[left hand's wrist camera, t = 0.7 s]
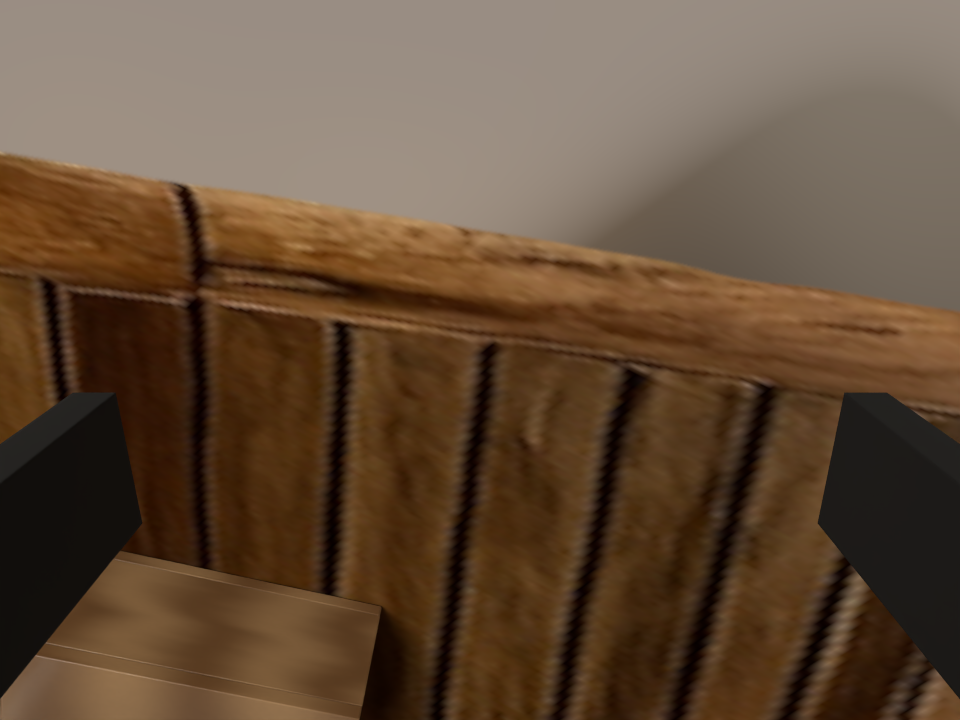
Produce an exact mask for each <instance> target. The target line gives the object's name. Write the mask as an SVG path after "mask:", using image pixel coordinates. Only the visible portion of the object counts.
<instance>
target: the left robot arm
mask: <svg viewBox="0 0 960 720" xmlns="http://www.w3.org/2000/svg"><path fill="white" fill-rule="evenodd" d="M141 524H142V520H141V515H140V510H139V505H138V500H137V495H136V490H135V485H134V480H133V476H132V471H131V466H130V461H129V456H128V451H127V446H126V441H125V437H124V432H123V427H122V422H121V417H120V412H119V407H118V402H117V398H116V393H72V394H71V395H69V396H68V397H66V398H65V399H63V400H62V401H61V402H59V403H58V404H56V405H55V406H54V407H52V408H51V409H49V410H48V411H47V412H45V413H44V414H42V415H41V416H39V417H38V418H37V419H35V420H34V421H32V422H31V423H30V424H28V425H27V426H25V427H24V428H22V429H21V430H20V431H18V432H17V433H15V434H14V435H13V436H11V437H10V438H8V439H7V440H5V441H4V442H3V443H1V444H0V699H1V697H2V696H3V695H4V694H5V693H6V691H7V690H8V689H9V688H10V686H11V685H12V684H13V683H14V681H15V680H16V679H17V678H18V676H19V675H20V674H21V673H22V671H23V670H24V669H25V668H26V667H27V665H28V664H29V663H30V662H31V660H32V659H33V658H34V657H35V655H36V654H37V653H38V652H39V650H40V649H41V648H42V647H43V645H44V644H45V643H46V642H47V641H48V639H49V638H50V637H51V636H52V634H53V633H54V632H55V631H56V629H57V628H58V627H59V626H60V624H61V623H62V622H63V621H64V619H65V618H66V617H67V616H68V615H69V613H70V612H71V611H72V610H73V608H74V607H75V606H76V605H77V603H78V602H79V601H80V600H81V598H82V597H83V596H84V595H85V593H86V592H87V591H88V590H89V589H90V587H91V586H92V585H93V584H94V582H95V581H96V580H97V579H98V577H99V576H100V575H101V574H102V572H103V571H104V570H105V569H106V567H107V566H108V565H109V564H110V563H111V561H112V560H113V559H114V558H115V556H116V555H117V554H118V553H119V551H120V550H121V549H122V548H123V546H124V545H125V544H126V543H127V541H128V540H129V539H130V538H131V537H132V535H133V534H134V533H135V532H136V530H137V529H138V528H139V527H140V525H141ZM818 524H819V525H820V527H821V528H822V529H823V530H824V532H825V533H826V534H827V535H828V537H829V538H830V539H831V540H832V541H833V543H834V544H835V545H836V546H837V548H838V549H839V550H840V551H841V553H842V554H843V555H844V556H845V558H846V559H847V560H848V561H849V563H850V564H851V565H852V566H853V567H854V569H855V570H856V571H857V572H858V574H859V575H860V576H861V577H862V579H863V580H864V581H865V582H866V584H867V585H868V586H869V587H870V589H871V590H872V591H873V592H874V593H875V595H876V596H877V597H878V598H879V600H880V601H881V602H882V603H883V605H884V606H885V607H886V608H887V610H888V611H889V612H890V613H891V615H892V616H893V617H894V618H895V619H896V621H897V622H898V623H899V624H900V626H901V627H902V628H903V629H904V631H905V632H906V633H907V634H908V636H909V637H910V638H911V639H912V641H913V642H914V643H915V644H916V645H917V647H918V648H919V649H920V650H921V652H922V653H923V654H924V655H925V657H926V658H927V659H928V660H929V662H930V663H931V664H932V665H933V667H934V668H935V669H936V670H937V671H938V673H939V674H940V675H941V676H942V678H943V679H944V680H945V681H946V683H947V684H948V685H949V686H950V688H951V689H952V690H953V691H954V693H955V694H956V695H957V696H958V697H959V699H960V444H959V443H957V442H956V441H955V440H953V439H952V438H950V437H949V436H947V435H946V434H945V433H943V432H942V431H940V430H939V429H938V428H936V427H935V426H933V425H932V424H930V423H929V422H928V421H926V420H925V419H923V418H922V417H921V416H919V415H918V414H916V413H915V412H913V411H912V410H911V409H909V408H908V407H906V406H905V405H904V404H902V403H901V402H899V401H898V400H897V399H895V398H894V397H892V396H891V395H889V394H888V393H844V397H843V402H842V407H841V412H840V417H839V422H838V427H837V432H836V437H835V441H834V446H833V451H832V456H831V461H830V466H829V471H828V476H827V480H826V485H825V490H824V495H823V500H822V505H821V510H820V515H819V519H818Z"/></svg>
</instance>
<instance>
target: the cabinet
mask: <svg viewBox="0 0 960 720" xmlns="http://www.w3.org/2000/svg"><path fill="white" fill-rule="evenodd" d="M381 609H382V607H381V606H377V605H372V604H367V603H363V602H358V601H353V600H349V599H344V598H339V597H335V596H330V595H325V594H321V593H316V592H311V591H306V590H302V589H297V588H292V587H288V586H283V585H278V584H274V583H269V582H264V581H260V580H255V579H250V578H246V577H241V576H236V575H232V574H227V573H222V572H217V571H213V570H208V569H203V568H199V567H194V566H189V565H185V564H180V563H175V562H171V561H166V560H161V559H157V558H152V557H147V556H143V555H138V554H133V553H129V552H124V551H119V553H118V554H117V555H116V556H115V558H114V559H113V560H112V561H111V563H110V564H109V565H108V566H107V567H106V569H105V570H104V571H103V572H102V574H101V575H100V576H99V577H98V579H97V580H96V581H95V582H94V584H93V585H92V586H91V587H90V589H89V590H88V591H87V592H86V593H85V595H84V596H83V597H82V598H81V600H80V601H79V602H78V603H77V605H76V606H75V607H74V608H73V610H72V611H71V612H70V613H69V615H68V616H67V617H66V618H65V619H64V621H63V622H62V623H61V624H60V626H59V627H58V628H57V629H56V631H55V632H54V633H53V634H52V636H51V637H50V638H49V639H48V641H47V642H46V643H45V644H44V645H43V647H42V648H41V649H40V650H39V652H38V653H37V654H36V655H35V657H34V658H33V659H32V660H31V662H30V663H29V664H28V665H27V667H26V668H25V669H24V670H23V671H22V673H21V674H20V675H19V676H18V678H17V679H16V680H15V681H14V683H13V684H12V685H11V686H10V688H9V689H8V690H7V691H6V693H5V694H4V695H3V696H2V697H1V701H0V720H360V716H361V711H362V706H363V701H364V696H365V691H366V686H367V681H368V675H369V670H370V665H371V660H372V655H373V650H374V645H375V640H376V635H377V630H378V625H379V619H380V614H381Z"/></svg>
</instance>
